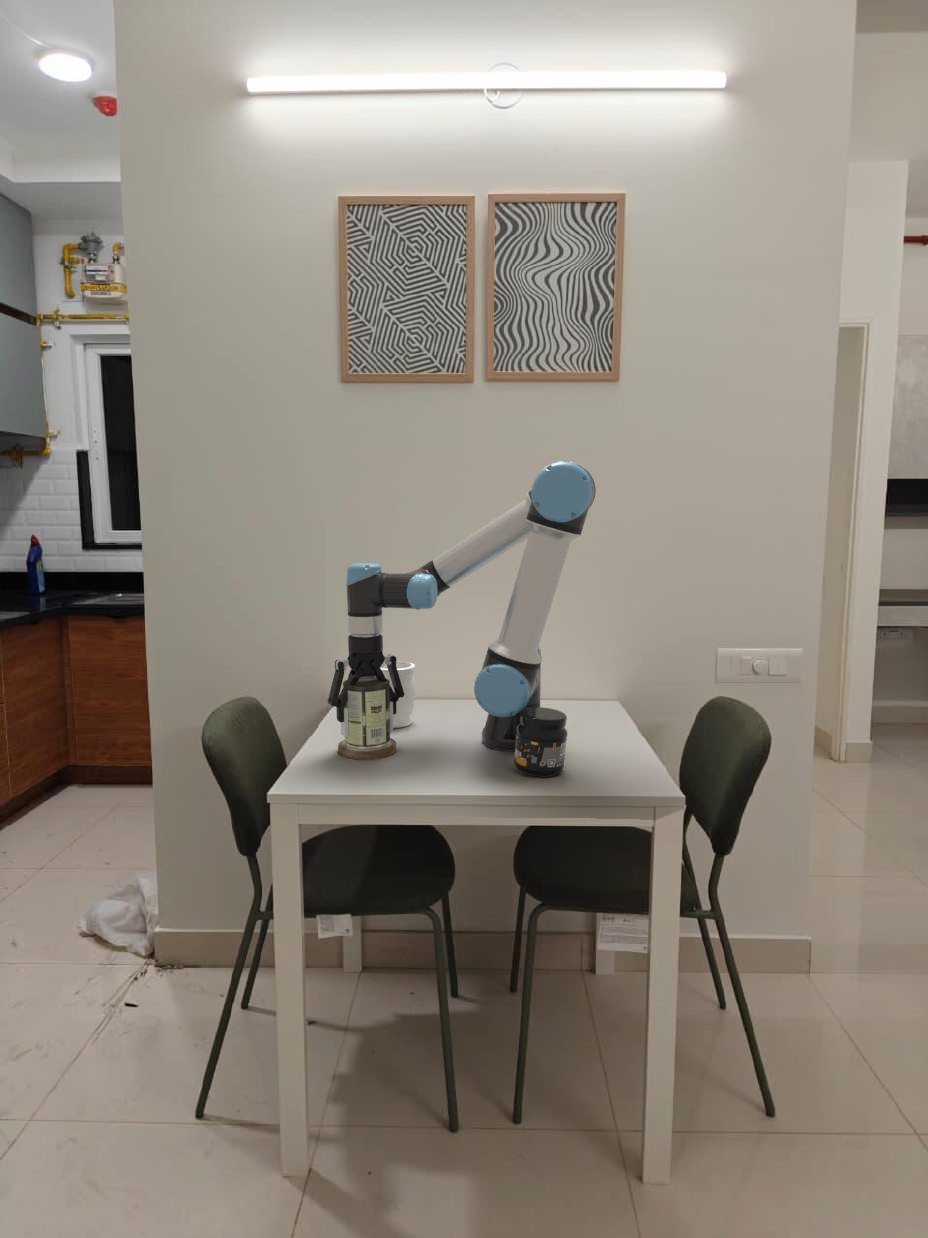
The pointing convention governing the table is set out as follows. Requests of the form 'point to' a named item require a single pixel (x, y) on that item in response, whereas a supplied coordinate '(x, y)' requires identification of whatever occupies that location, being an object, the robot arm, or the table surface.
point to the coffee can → (368, 714)
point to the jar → (408, 685)
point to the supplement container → (540, 741)
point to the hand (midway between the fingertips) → (367, 732)
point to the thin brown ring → (367, 751)
